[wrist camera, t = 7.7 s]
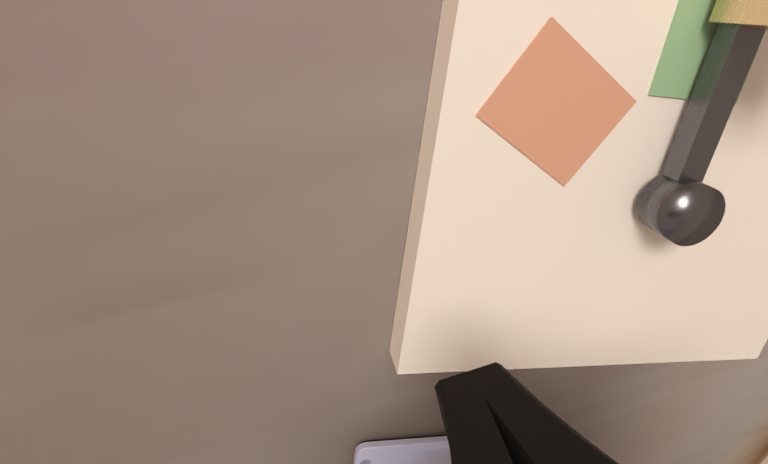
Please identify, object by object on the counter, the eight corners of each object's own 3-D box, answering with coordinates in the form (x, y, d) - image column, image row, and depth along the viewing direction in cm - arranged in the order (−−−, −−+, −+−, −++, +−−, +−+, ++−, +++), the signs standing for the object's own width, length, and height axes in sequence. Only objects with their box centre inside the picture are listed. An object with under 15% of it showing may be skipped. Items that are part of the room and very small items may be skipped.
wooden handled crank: (677, 228, 19) (802, 301, 15) (628, 226, 19) (742, 301, 14) (787, -39, 15) (1000, -52, 11) (730, -52, 15) (929, -70, 10)
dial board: (731, 339, 25) (759, 359, 24) (389, 350, 21) (398, 375, 20) (902, -6, 19) (953, -6, 17) (456, -88, 15) (476, -96, 13)
